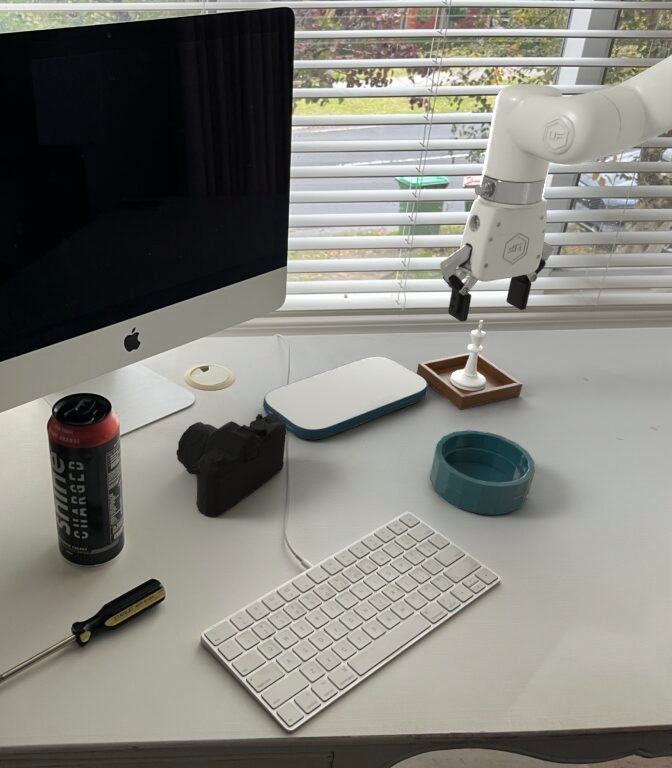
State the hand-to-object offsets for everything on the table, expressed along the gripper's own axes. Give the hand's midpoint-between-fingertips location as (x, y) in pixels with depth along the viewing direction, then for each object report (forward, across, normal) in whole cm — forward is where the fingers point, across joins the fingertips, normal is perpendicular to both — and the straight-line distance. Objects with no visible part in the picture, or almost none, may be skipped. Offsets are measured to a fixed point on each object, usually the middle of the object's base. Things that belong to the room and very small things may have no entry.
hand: (486, 311), depth 109 cm
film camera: (+12, -42, -7) cm, 45 cm away
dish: (+12, -14, -19) cm, 27 cm away
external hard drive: (+12, -19, +3) cm, 23 cm away
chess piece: (+12, 0, +1) cm, 12 cm away
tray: (+12, 0, +1) cm, 12 cm away
